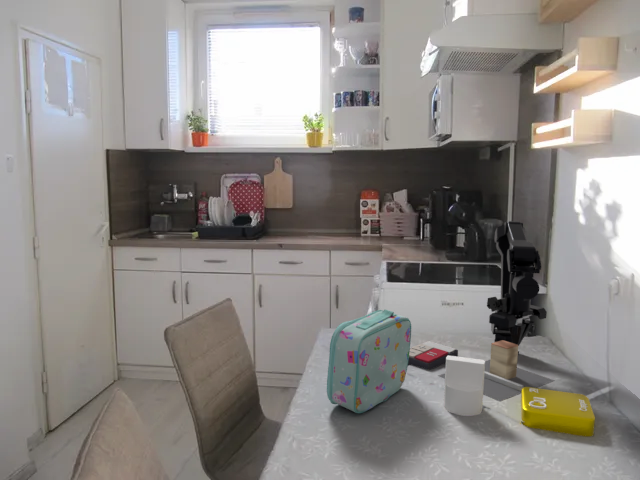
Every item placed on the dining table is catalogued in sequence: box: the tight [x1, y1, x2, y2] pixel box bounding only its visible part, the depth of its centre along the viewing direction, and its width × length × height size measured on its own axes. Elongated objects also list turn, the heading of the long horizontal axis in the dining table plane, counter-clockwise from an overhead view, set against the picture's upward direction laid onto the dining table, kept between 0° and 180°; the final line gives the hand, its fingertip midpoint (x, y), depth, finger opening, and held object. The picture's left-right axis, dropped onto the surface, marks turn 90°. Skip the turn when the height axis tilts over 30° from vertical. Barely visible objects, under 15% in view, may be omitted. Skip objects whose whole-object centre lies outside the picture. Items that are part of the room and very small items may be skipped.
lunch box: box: [326, 309, 412, 414], centre depth 138 cm, size 27×10×21 cm, turn 144°
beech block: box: [489, 340, 519, 380], centre depth 153 cm, size 5×5×9 cm
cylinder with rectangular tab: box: [443, 355, 486, 417], centre depth 134 cm, size 9×9×12 cm
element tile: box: [520, 387, 596, 438], centre depth 130 cm, size 15×15×5 cm
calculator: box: [408, 340, 459, 371], centre depth 166 cm, size 11×4×15 cm
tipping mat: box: [437, 359, 556, 402], centre depth 152 cm, size 24×20×2 cm
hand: (516, 345), depth 155 cm, fingers closed
